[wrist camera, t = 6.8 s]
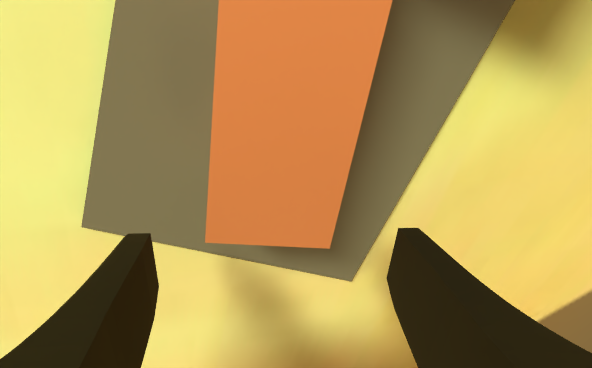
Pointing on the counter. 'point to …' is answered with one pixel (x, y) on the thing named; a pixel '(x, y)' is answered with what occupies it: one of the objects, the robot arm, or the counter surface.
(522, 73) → the counter surface
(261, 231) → the vermilion block
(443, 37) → the slate board
